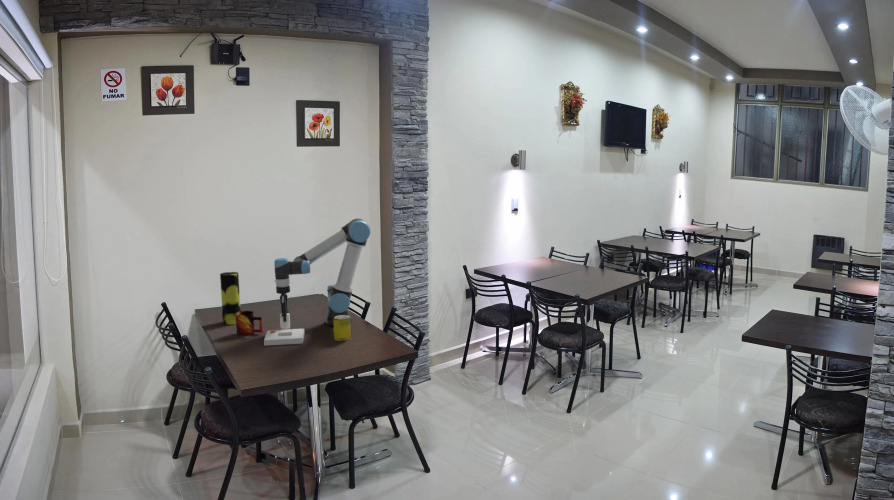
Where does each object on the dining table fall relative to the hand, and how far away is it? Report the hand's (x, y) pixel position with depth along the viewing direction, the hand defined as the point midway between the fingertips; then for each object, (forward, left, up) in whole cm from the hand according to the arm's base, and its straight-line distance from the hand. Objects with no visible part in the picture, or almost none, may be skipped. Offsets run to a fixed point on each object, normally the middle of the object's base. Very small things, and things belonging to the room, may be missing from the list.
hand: (285, 325), depth 351 cm
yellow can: (-31, +18, -4) cm, 37 cm away
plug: (0, 0, -3) cm, 3 cm away
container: (+34, -27, -4) cm, 43 cm away
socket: (0, +14, -4) cm, 14 cm away
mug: (+20, -2, -4) cm, 21 cm away
